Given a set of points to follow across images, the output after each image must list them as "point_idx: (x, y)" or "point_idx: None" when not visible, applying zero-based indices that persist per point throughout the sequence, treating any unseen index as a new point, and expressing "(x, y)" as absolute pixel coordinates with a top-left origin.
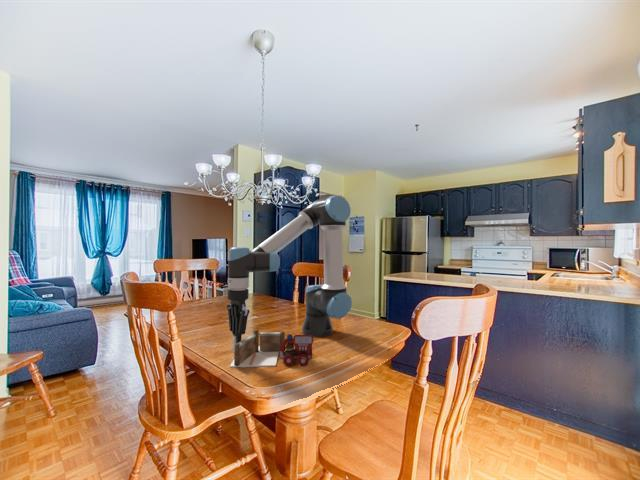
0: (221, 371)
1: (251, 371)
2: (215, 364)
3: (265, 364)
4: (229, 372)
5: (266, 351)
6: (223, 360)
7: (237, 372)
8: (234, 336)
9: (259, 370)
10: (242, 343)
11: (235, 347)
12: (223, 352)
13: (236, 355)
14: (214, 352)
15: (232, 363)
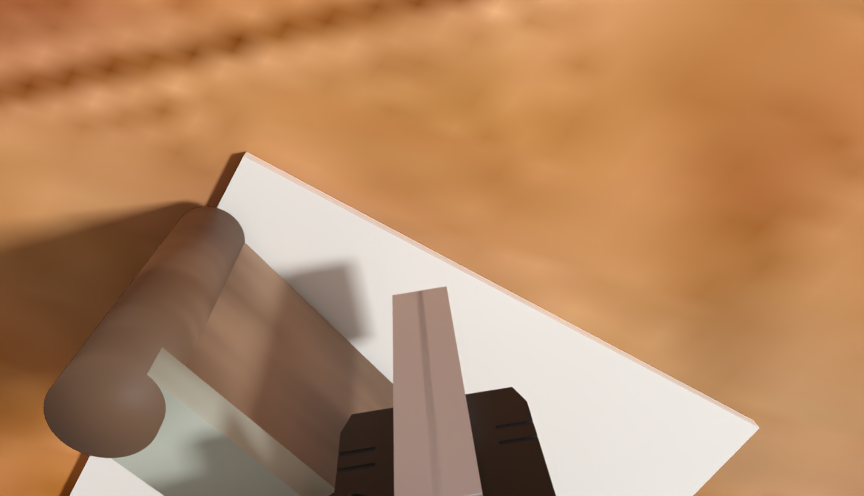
0: (163, 15)
1: (11, 322)
2: (444, 9)
3: (101, 482)
4: (85, 100)
5: None
6: (511, 142)
7: (44, 185)
8: (404, 488)
9: (5, 395)
10: (172, 494)
11: (85, 347)
12: (764, 214)
13: (128, 286)
14: (857, 114)
15: (308, 205)
